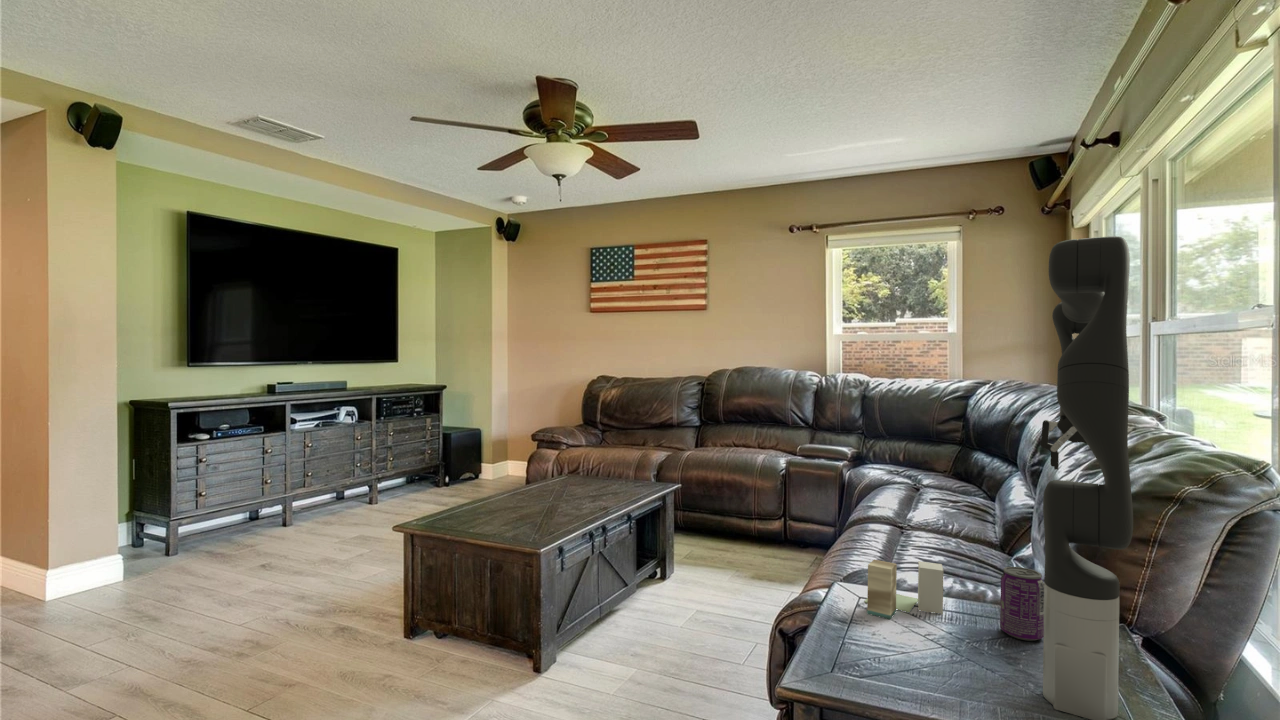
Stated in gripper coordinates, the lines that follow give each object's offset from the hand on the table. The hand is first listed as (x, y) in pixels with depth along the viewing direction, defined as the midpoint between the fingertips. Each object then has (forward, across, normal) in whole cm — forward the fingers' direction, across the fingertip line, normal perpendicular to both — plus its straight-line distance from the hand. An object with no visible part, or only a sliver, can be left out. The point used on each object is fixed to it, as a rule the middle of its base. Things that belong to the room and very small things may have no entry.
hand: (1080, 471), depth 129 cm
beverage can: (+30, -9, -22) cm, 38 cm away
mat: (+29, -33, -20) cm, 48 cm away
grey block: (+29, -25, -19) cm, 43 cm away
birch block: (+29, -33, -28) cm, 52 cm away
